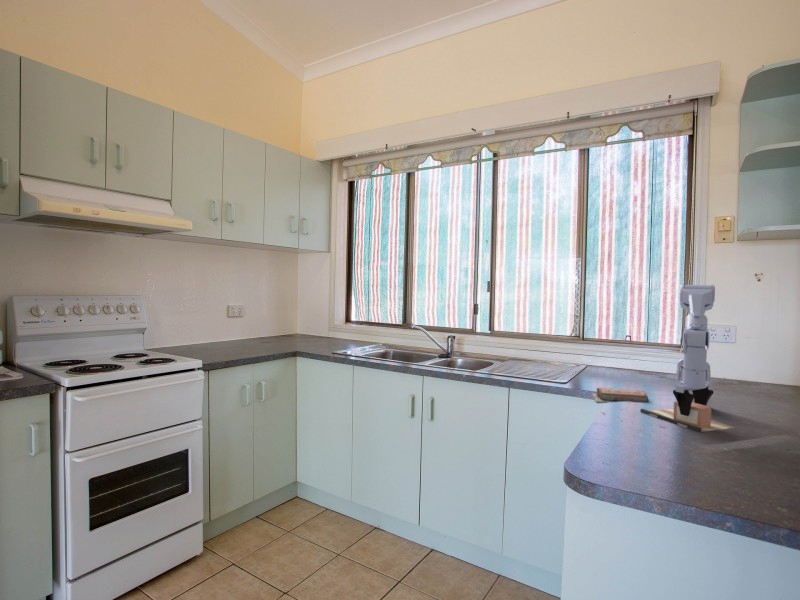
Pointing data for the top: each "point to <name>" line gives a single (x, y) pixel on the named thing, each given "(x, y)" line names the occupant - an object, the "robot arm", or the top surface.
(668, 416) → the shelf board
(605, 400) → the packaged product
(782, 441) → the top surface
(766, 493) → the top surface
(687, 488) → the top surface
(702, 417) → the carton
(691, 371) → the robot arm
